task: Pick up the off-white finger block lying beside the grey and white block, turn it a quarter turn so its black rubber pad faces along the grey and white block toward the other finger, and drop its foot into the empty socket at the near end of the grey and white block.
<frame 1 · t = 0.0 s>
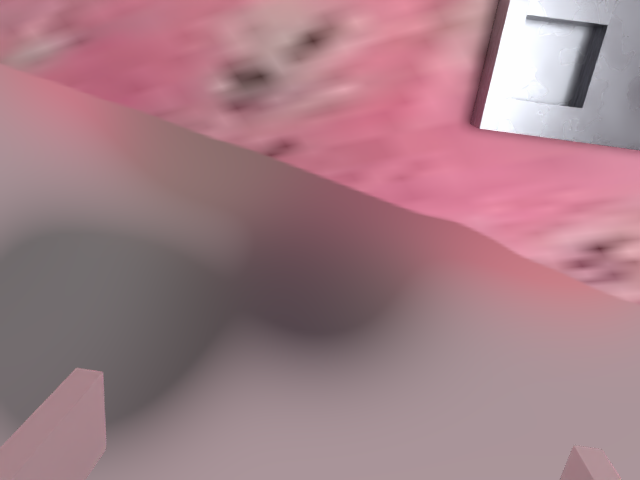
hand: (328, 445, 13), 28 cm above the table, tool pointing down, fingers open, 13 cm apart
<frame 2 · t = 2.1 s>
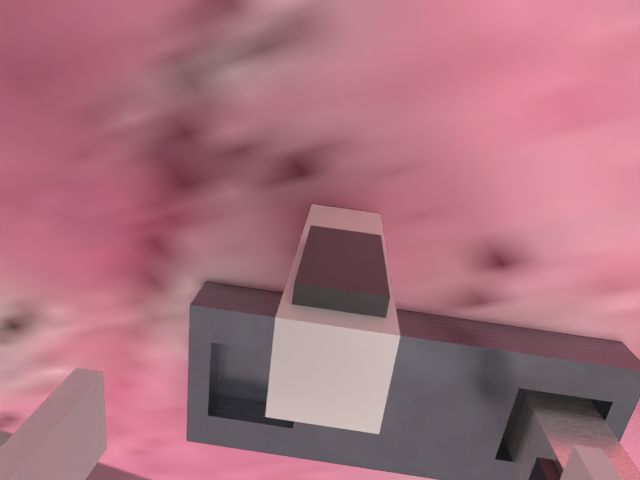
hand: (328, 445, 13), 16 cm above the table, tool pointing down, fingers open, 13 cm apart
grey and white block: (397, 377, 31), on the table
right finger: (341, 240, 28), on the table
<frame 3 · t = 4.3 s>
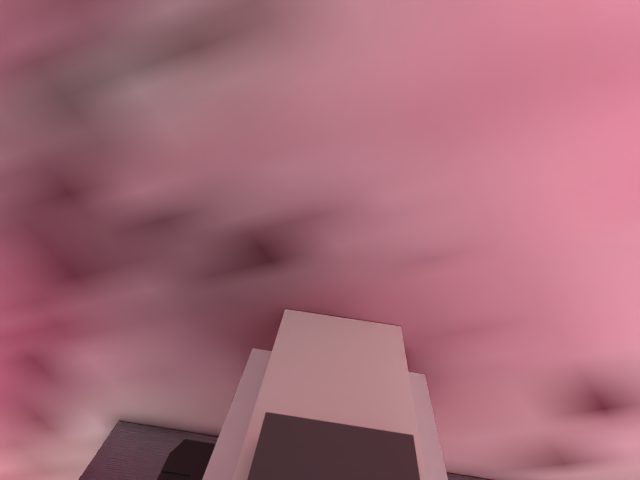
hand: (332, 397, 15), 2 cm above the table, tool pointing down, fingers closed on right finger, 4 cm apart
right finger: (334, 366, 17), on the table, touching gripper
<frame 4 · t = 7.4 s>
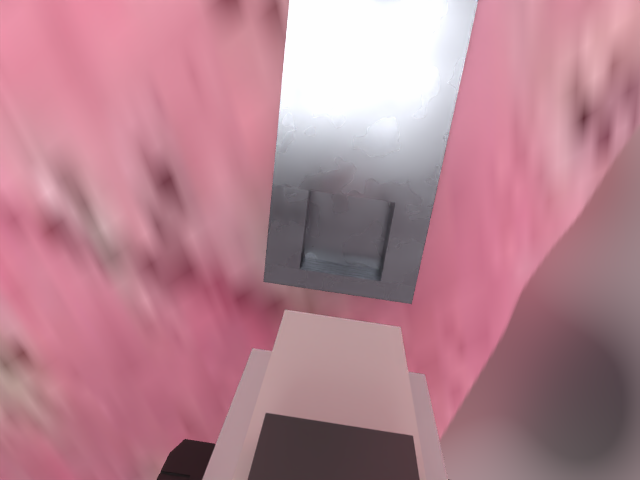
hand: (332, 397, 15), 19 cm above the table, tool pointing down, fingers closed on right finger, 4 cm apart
grey and white block: (367, 88, 29), on the table
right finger: (334, 366, 17), point 17 cm above the table, touching gripper
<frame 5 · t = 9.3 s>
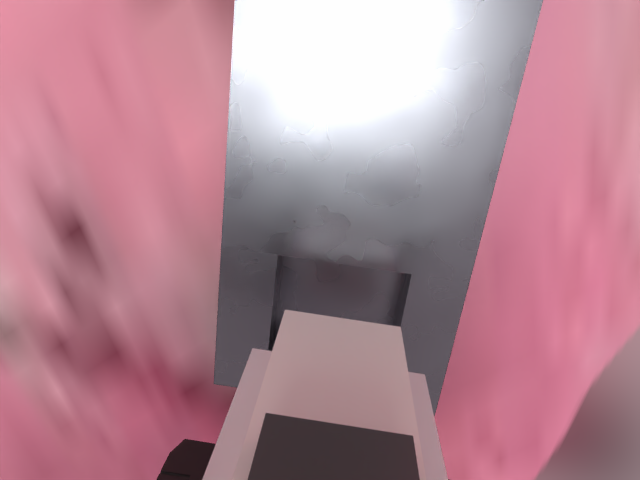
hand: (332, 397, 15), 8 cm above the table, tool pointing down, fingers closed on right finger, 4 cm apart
grey and white block: (367, 97, 19), on the table
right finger: (334, 366, 17), point 6 cm above the table, touching gripper
when the fingers open (4 cm above the table, at t = 10.6 s): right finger drops 1 cm, resting on grey and white block.
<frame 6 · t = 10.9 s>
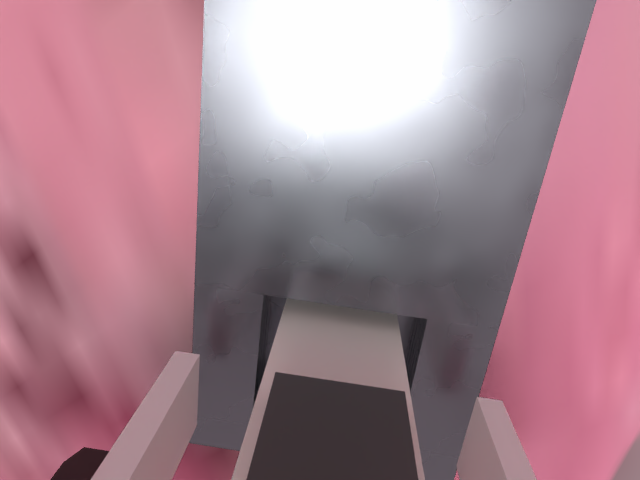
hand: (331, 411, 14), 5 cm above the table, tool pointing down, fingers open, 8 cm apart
grey and white block: (373, 101, 16), on the table
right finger: (334, 344, 18), point 1 cm above the table, touching grey and white block
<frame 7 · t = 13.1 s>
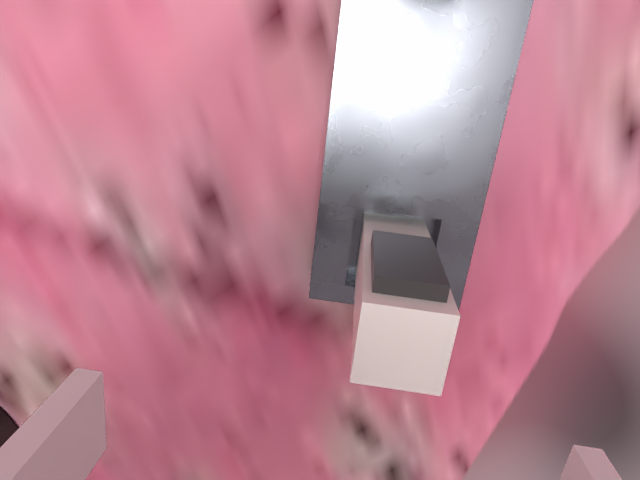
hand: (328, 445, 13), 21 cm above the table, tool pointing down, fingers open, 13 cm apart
grey and white block: (412, 106, 29), on the table
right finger: (389, 243, 32), point 1 cm above the table, touching grey and white block
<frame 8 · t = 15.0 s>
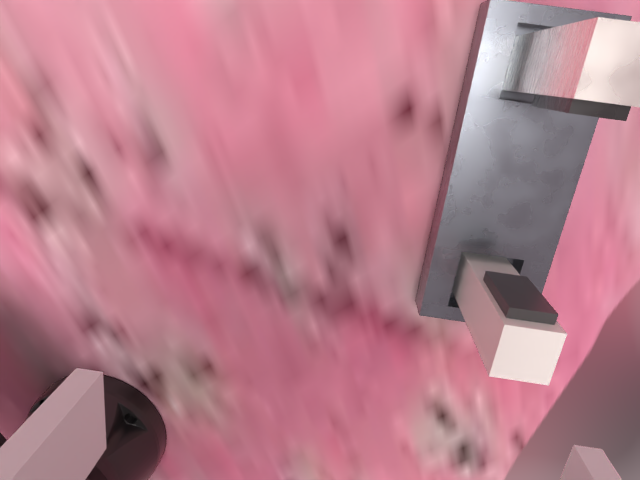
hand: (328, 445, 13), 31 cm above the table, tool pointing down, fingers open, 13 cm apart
grey and white block: (501, 176, 40), on the table
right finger: (478, 274, 43), point 1 cm above the table, touching grey and white block
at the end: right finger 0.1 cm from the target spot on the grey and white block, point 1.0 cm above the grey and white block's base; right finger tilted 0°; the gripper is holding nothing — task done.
